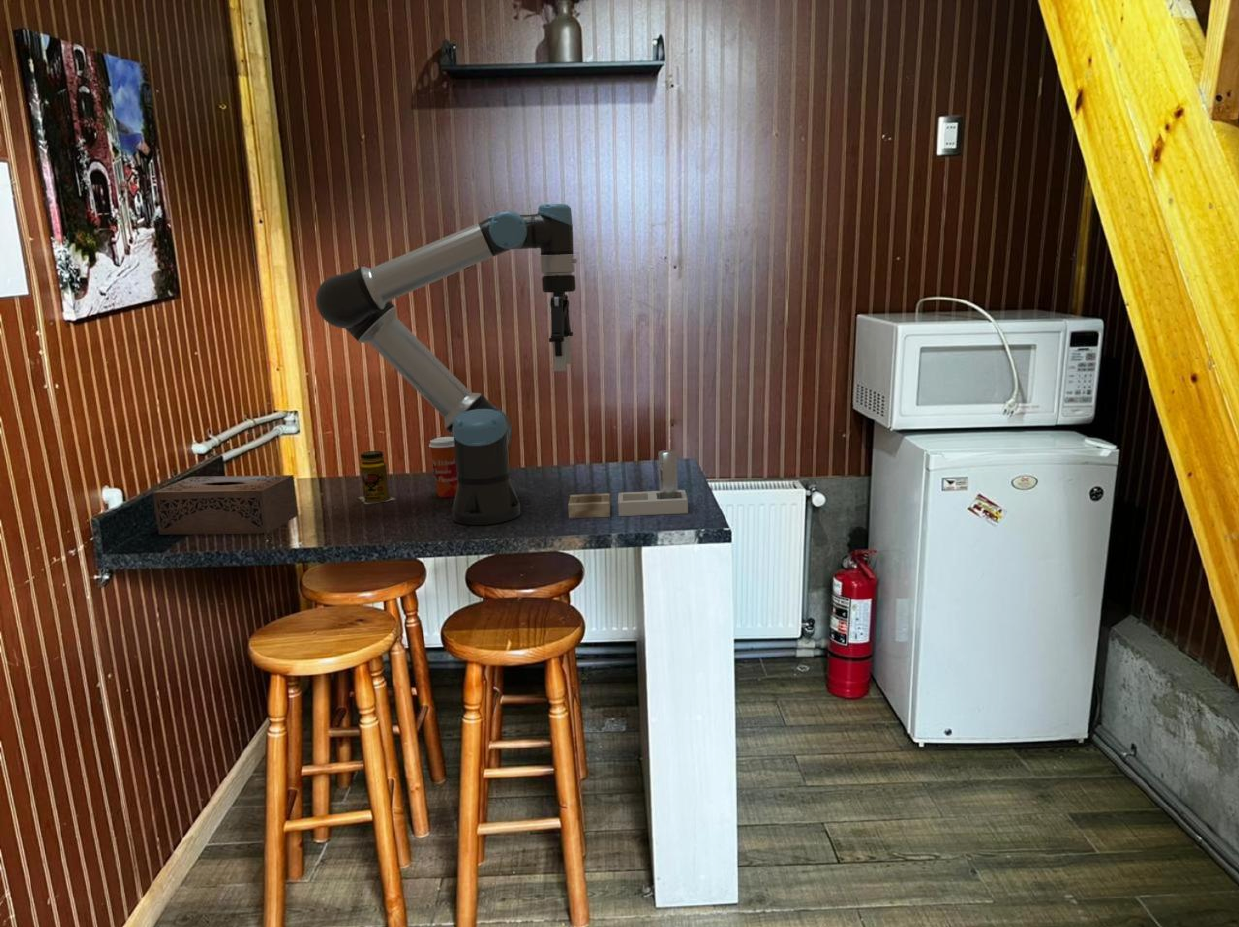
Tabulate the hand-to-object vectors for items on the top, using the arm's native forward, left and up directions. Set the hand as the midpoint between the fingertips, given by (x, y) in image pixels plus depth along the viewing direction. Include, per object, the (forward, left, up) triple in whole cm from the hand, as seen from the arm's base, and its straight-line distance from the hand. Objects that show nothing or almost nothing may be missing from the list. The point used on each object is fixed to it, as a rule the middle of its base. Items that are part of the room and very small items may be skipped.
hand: (562, 367), depth 211 cm
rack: (+9, -23, -31) cm, 39 cm away
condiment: (-39, +29, -31) cm, 58 cm away
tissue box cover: (-73, +28, -32) cm, 84 cm away
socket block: (-3, -16, -31) cm, 35 cm away
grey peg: (+13, -24, -31) cm, 41 cm away
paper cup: (-23, +21, -31) cm, 44 cm away
